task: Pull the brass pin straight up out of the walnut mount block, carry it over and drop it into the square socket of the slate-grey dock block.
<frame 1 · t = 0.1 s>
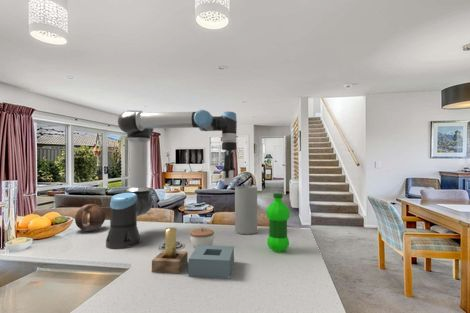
hand: (229, 183, 127), 28 cm above the kitchen island, tool pointing down, fingers open, 13 cm apart
plastic bottle: (278, 250, 110), on the kitchen island
cylinder vase: (246, 232, 140), on the kitchen island
wooden sphere: (90, 230, 141), on the kitchen island
lidded jar: (201, 249, 112), on the kitchen island
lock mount: (170, 266, 93), on the kitchen island
dock socket: (212, 268, 91), on the kitchen island
brass pin: (170, 247, 93), in the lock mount
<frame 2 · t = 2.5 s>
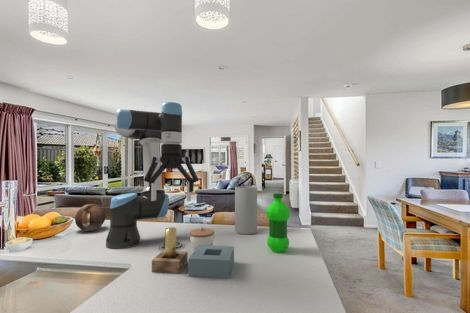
hand: (171, 200, 93), 24 cm above the kitchen island, tool pointing down, fingers open, 13 cm apart
nothing on the kitchen island moved.
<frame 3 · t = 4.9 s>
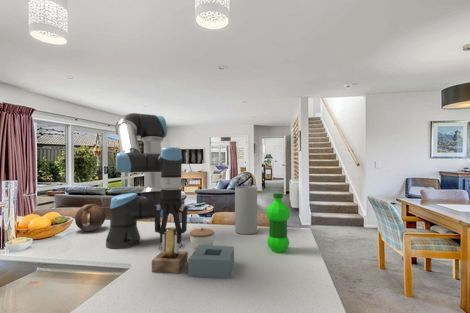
hand: (170, 251, 93), 6 cm above the kitchen island, tool pointing down, fingers closed on brass pin, 4 cm apart
brass pin: (170, 247, 93), in the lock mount, touching gripper
everything else where it was.
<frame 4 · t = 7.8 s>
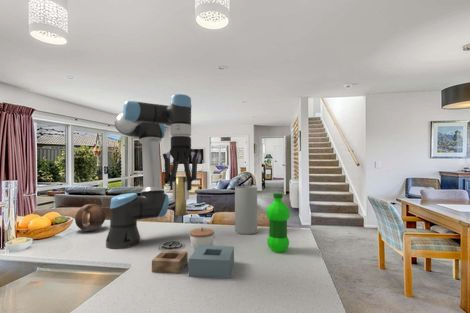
hand: (180, 199, 92), 25 cm above the kitchen island, tool pointing down, fingers closed on brass pin, 4 cm apart
brass pin: (180, 195, 92), point 26 cm above the kitchen island, touching gripper
everything else where it was.
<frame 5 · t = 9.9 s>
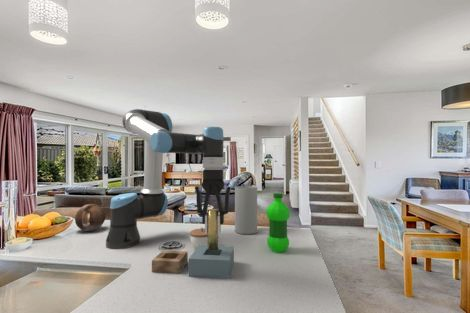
hand: (213, 232, 91), 13 cm above the kitchen island, tool pointing down, fingers closed on brass pin, 4 cm apart
brass pin: (213, 229, 91), point 14 cm above the kitchen island, touching gripper
everything else where it was.
when the fingers open (8 cm above the kitchen island, at t = 11.2 s): brass pin drops 2 cm, resting in dock socket.
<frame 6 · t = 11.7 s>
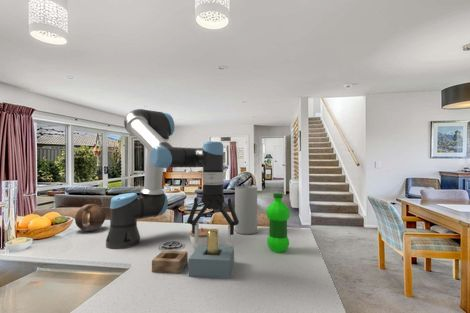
hand: (212, 243, 91), 9 cm above the kitchen island, tool pointing down, fingers open, 11 cm apart
brass pin: (212, 249, 91), in the dock socket
everything else where it was.
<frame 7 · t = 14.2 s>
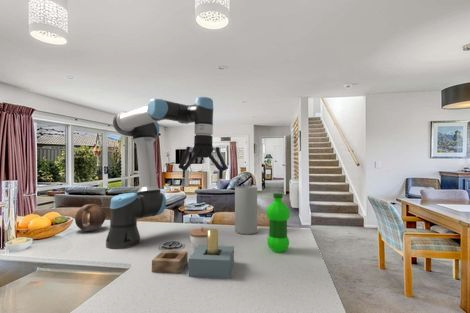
hand: (202, 186, 103), 29 cm above the kitchen island, tool pointing down, fingers open, 13 cm apart
nothing on the kitchen island moved.
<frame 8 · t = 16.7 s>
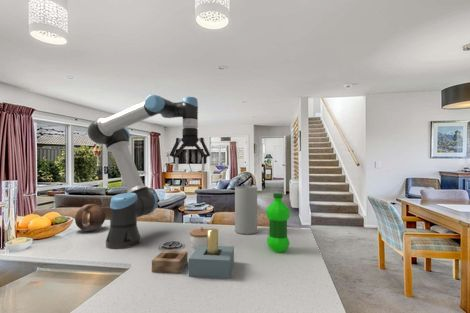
hand: (189, 170, 124), 35 cm above the kitchen island, tool pointing down, fingers open, 13 cm apart
nothing on the kitchen island moved.
at the end: brass pin 0.1 cm off-centre on the dock socket, point 7.0 cm above the dock socket's base; brass pin tilted 0°; the gripper is holding nothing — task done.
